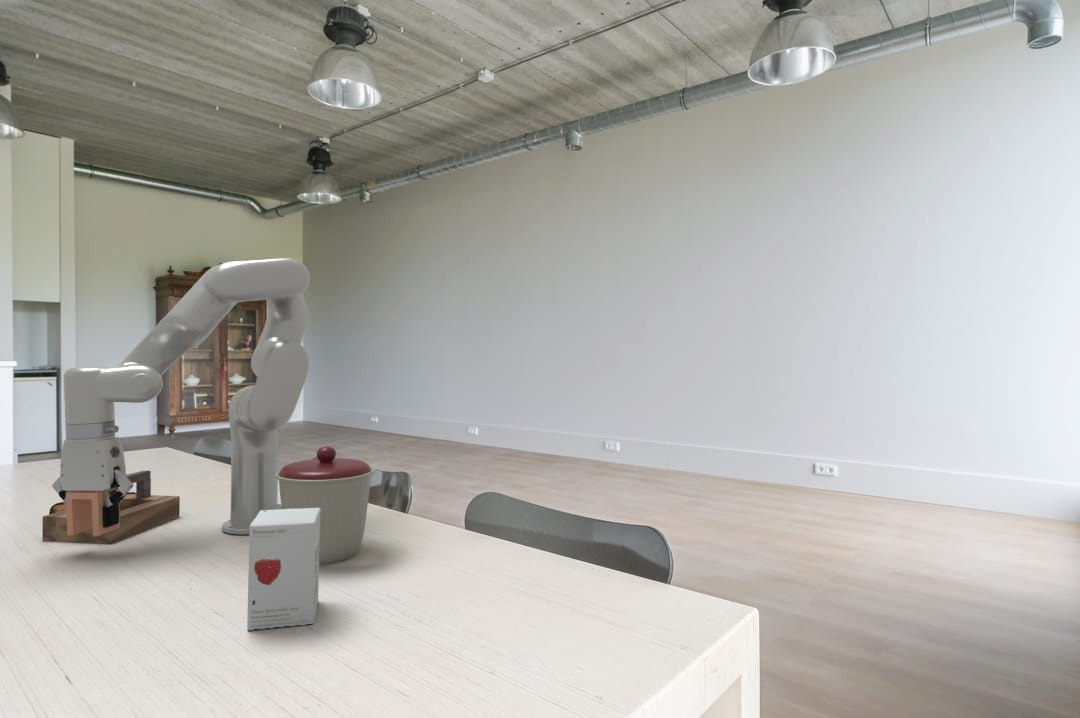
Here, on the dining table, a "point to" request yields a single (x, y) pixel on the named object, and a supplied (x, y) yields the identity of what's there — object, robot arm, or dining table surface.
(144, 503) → the wooden rectangular frame
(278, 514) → the supplement box
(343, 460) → the canister
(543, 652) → the dining table surface
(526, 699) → the dining table surface
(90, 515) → the pink u-channel block
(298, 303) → the robot arm
